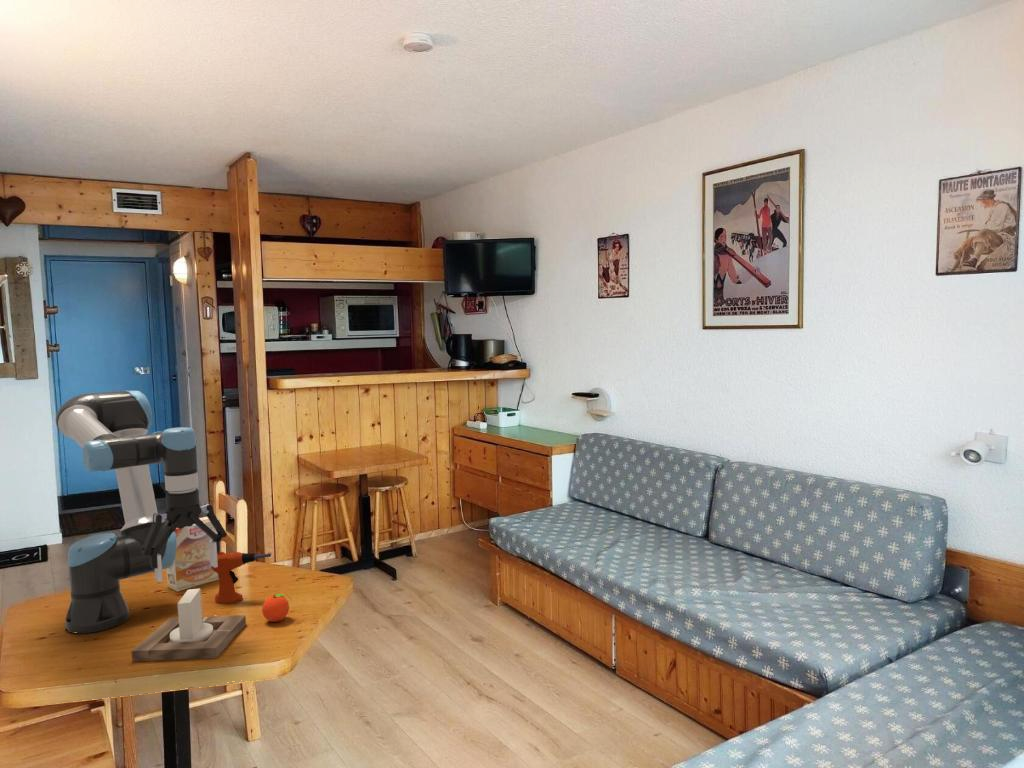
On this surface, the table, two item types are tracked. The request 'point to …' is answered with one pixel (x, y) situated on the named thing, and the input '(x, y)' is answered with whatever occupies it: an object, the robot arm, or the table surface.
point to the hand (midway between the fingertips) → (187, 573)
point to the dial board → (162, 649)
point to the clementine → (275, 608)
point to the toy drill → (231, 574)
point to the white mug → (191, 620)
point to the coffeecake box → (191, 558)
